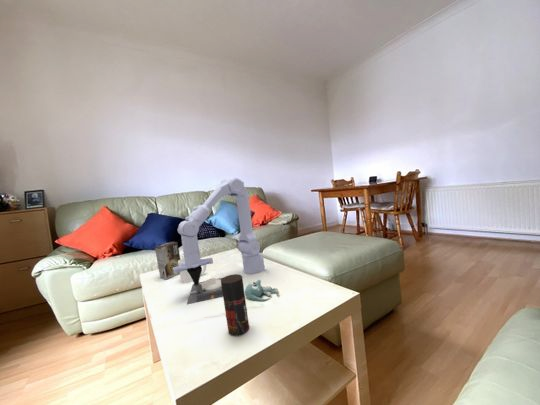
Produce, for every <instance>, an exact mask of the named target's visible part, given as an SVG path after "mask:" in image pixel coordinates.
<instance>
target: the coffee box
mask: <svg viewBox="0 0 540 405" xmlns="http://www.w3.org/2000/svg"><path fill="white" fill-rule="evenodd" d="M154 250H155V256H156V261H157V262H156V263H157V268H158V273H159V278H160V279H162V280H163V279H164V280H166V281H167V280H169V279H171V278H174V277H176V276H178V275H180V272H178V273H176V274H174V272H173V267H177V266H179V265H178V261H179V260H181V259H182V258H181V255H180V254H181V253H180V250H179V245H178V242H177V241H169V242H165V243H162V244H159V245H157V246H154Z"/></svg>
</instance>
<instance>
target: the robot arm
mask: <svg viewBox="0 0 540 405" xmlns="http://www.w3.org/2000/svg"><path fill="white" fill-rule="evenodd" d="M225 196H230V197H232V198H233V199H234V200H236V206H237V207H236V208H237V213H238V214H237V215H238V221H239V222H238V223H239V230H240V235H239V236H238V244H237V249H238V251H239V252H240V253H241V254H240V255H241V259H242V265H243V272H244V274H246V275H254V274H257V273H260V272H266V269H265V261H264V255H263V253H262V252H260V250H261V244H260V243H259V240H258V237H257V236H256V234H254V230H253V222H252V213H251V207H250V197H249V193H248V191H247V189H246V187H245V182H244V181H242V179H240V178H238V177H234V178H233V177H232V178H229V179H223V180H221V181H220V183H218V184H217V186H216V187H215V189H214V190H213V191H212V192H211V193H210V195H209V197H207V199H206V200H205V201H204V202H203V203H202V204H199V205H197V206H193V211H192V212H191V213H190V214H189V215H188V216H185V217H184V219H185V220H183V221H181V222H180V223H179V224H178V227H177V233H178V234H179V235H180V236H181V245H182V251H183V258H184V259H185V264H182V265H180V266H177V267H173V272H174V274H176V273H178V272H181V271H185V270H187V271H188V273H189V274H190V276H191V278H192V280H193V284H194V285H197V284H199V282H200V279H201V278H200V277H201V275H200V274H201V271H202V270H203V267H204V266H203V265H206V266H207V265H210V264H211V265H212V264H213V263H214V261H213V258H212V257H208V258H202V259H201V253H200V252H201V251H200V246H199V239H198V234H199V232H200V231H199V230H200V227H201V225H202V224H203V223H204V222H205V220H207V219H208V217H209V216H210V214H211V213H210V212H211V209H212V208H213V207H214V206H215V205H216V204H217V203H218V201H220V200H221V198H223V197H225Z"/></svg>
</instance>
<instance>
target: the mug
mask: <svg viewBox="0 0 540 405" xmlns="http://www.w3.org/2000/svg"><path fill="white" fill-rule="evenodd" d="M180 259H181V260H179V261H178V265H179V266H180V265H182V264H185V259H184V257H183V258H180ZM206 271H207V265H203V266H202V271H201V274H200V276H202V275H203V274H205V273H206ZM179 276H180V277H179V278H180V281H181V283H186V284H187V283H192V282H193V280H192V278H191V276H190V274H189V273H188V271H187V270H185V271H181V272H180V274H179ZM193 283H194V282H193Z"/></svg>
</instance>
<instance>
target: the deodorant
mask: <svg viewBox="0 0 540 405" xmlns="http://www.w3.org/2000/svg"><path fill="white" fill-rule="evenodd" d="M221 278H222V279H221V286H222V292H223V297H222V298H223V305H224V312H225V318H226V323H227V331H228V334H229V335H230V336H231V337H232V336H233V337H239V336H243V335H245V334H246V333H247V332H248V331H249V330H250V322H249V318H248V317H249V316H248V309H247V301H246V296H245V289H244V287H245V286H244V280H243V275H241V274H229V275H226V276H224V278H223V277H221Z"/></svg>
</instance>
